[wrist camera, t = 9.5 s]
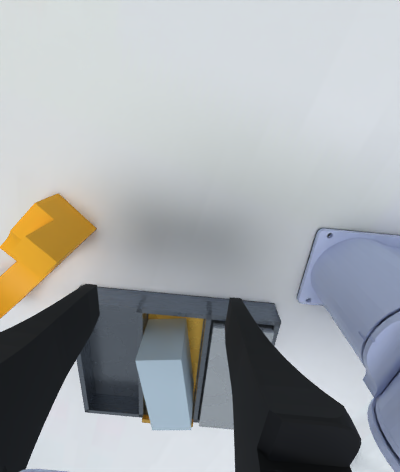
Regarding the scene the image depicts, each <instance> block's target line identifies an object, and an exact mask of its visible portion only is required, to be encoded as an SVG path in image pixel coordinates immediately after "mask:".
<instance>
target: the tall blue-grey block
mask: <svg viewBox="0 0 400 472" xmlns="http://www.w3.org/2000/svg"><path fill="white" fill-rule="evenodd" d="M135 362H136V366H137V370H138V374H139V378H140V382H141V386H142V390H143V394H144V398H145V402H146V406H147V411H148V415H149V419H150V423H151V427H152V430H191V424H192V407H193V389H194V380H193V371H192V363H191V354H190V346H189V337H188V329H187V321H186V318H175V319H148V322H147V325H146V329H145V332H144V335H143V338H142V341H141V344H140V347H139V350H138V354H137V357H136V360H135Z"/></svg>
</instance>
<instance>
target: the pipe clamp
mask: <svg viewBox="0 0 400 472" xmlns="http://www.w3.org/2000/svg"><path fill="white" fill-rule="evenodd" d="M96 229H97V228H95V227H94V226H93V225H92V224H91V223H90V222H89V221H88V220H87V219H86V218H85V217H83V216H82V215H81V214H80V213H79V212H78V211H77V210H76V209H75V208H74V207H73V206H71V205H70V204H69V203H68V202H67V201H66V200H65V199H64V198H63V197H62V196H61V195H59V194H56V195H53V196H51V197H48V198H46V199H43V200H41V201H39V202H36V203H35V204H34V205H33V206H32V207H31V208H30V209H29V210H28V211H27V213H26V214H25V215H24V216H23V217H22V218H21V219H20V220H19V222H18V223H17V224H16V225H15V226H14V227H13V228H12V229H11V231H10V234H9V236H8V238H7V239H6V241H5V242H4V243H3V244H2V245H1V246H0V248H1V249H2V250H3V251H4V252H6V253H7V254H8V255H10V256H11V257H12V258H14V259H15V260H16V261H17V262H16V263H15V264H13V265H12V266H11V267H10V268H9V269H8V270H7V271H6V272H5V273H4V274H3V275H1V276H0V319H1V318H2V317H3V316H4V315H5V314H6V313H7V312H8V311H10V310H11V309H12V308H13V307H14V306H15V305H16V304H17V303H18V302H20V301H21V300H22V299H23V298H24V297H25V296H26V295H27V294H28V293H29V292H30V291H31V290H33V289H34V288H35V287H36V286H37V285H38V284H39V283H40V282H41V281H42V280H43V279H44V278H45V277H46V276H47V275H48V274H49V273H50V272H52V271H53V270H54V269H55V268H56V267H57V266H58V265H59V264H60V263H61V262H62V261H63V260H64V259H65V258H66V257H67V256H68V255H70V254H71V253H72V252H73V251H74V250H75V249H76V248H77V247H78V246H79V245H80V244H81V243H82V242H83V241H84V240H85V239H86V238H87V237H89V236H90V235H91V234H92V233H93V232H94V231H95V230H96Z"/></svg>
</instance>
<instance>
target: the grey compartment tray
mask: <svg viewBox="0 0 400 472" xmlns="http://www.w3.org/2000/svg"><path fill="white" fill-rule="evenodd" d="M80 287H81V286H80ZM80 287H79V288H80ZM97 290H98V300H99V310H100V316H99V318H98V321H97V323H96V325H95V328H94V330H93V332H92V334H91V336H90V337H89V339H88V341H87V342H86V344H85V346H84V347H83V349H82V351H81V352H80V354H79V356H78V357H77V365H78V371H79V377H80V383H81V389H82V396H83V402H84V408H85V412H88V413H99V414H110V415H121V416H132V417H143V418H142V422H144V423H150V419H149V415H148V411H147V406H146V402H145V398H144V394H143V390H142V386H141V382H140V378H139V374H138V370H137V366H136V362H135V360H136V357H137V354H138V350H139V347H140V344H141V341H142V338H143V335H144V332H145V329H146V325H147V322H148V319H175V318H186V321H187V329H188V337H189V346H190V354H191V363H192V371H193V380H194V389H193V407H192V424H191V427H193V422H198V423H199V426H202V427H213V428H224V429H234V421H233V401H232V389H231V381H230V374H229V367H228V360H227V353H226V346H225V322H226V317H227V311H228V305H229V299H220V298H209V297H198V296H188V295H177V294H166V293H156V292H145V291H134V290H124V289H113V288H102V287H97ZM243 302H244V304H245V306H246V307H247V309H248V311H249V312H250V314H251V315H252V317H253V318H254V320H255V321H256V323H257V324H258V326H259V327H260V329H261V330H262V331H263V333H264V334H265V335H266V337H267V338H268V339H269V341H270V342H271V343H272V344H273V345H275V341H276V338H277V334H278V331H279V328H280V324H281V320H280V317H279V315H278V312H277V310H276V307H275V304H273V303H262V302H252V301H243Z"/></svg>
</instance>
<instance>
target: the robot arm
mask: <svg viewBox="0 0 400 472" xmlns="http://www.w3.org/2000/svg"><path fill="white" fill-rule="evenodd" d="M329 233H331V235H330V236H329V237H327V235H328V234H329ZM307 298H309V299H308V300H306V299H307ZM297 299H298V301H299V303H302V304H312V305H323V306H325V308H326V309H327V311H328V312H329V314H330V315H331V317H332V318H333V320H334V321H335V323H336V324H337V326H338V327H339V329H340V330H341V332H342V333H343V335H344V336H345V338H346V339H347V341H348V342H349V344H350V345H351V347H352V348H353V350H354V351H355V353H356V354H357V356H358V357H359V359H360V360H361V362H362V363H363V365H364V366H365V368H366V375H365V377H364V378H363V381H364V382H365V384H366V386H367V387H368V389H369V390H370V392H371V394H372V395H373V397H374V398H373V399H372V401H371V402H370V404H369V407H368V422H369V426H370V430H371V432H372V435H373V437H374V439H375V441H376V443H377V445H378V447H379V449H380V451H381V452H382V454H383V455H384V457H385V459H386V460H387V462H388V463H389V465H390V466H391V467H392V469H393V470H394V471H395V472H400V236H398V235H388V234H377V233H367V232H356V231H346V230H335V229H325V228H323V229H320V230H319V231H318V232H317V235H316V238H315V241H314V244H313V248H312V251H311V254H310V257H309V261H308V264H307V267H306V270H305V274H304V277H303V280H302V283H301V287H300V290H299V293H298V296H297ZM99 316H100V310H99V300H98V290H97V285H91V284H85V285H83V286H81V287H80V288H78V289H77V290H75V291H74V292H72V293H70V294H69V295H67V296H66V297H64V298H63V299H61V300H59V301H58V302H56V303H55V304H53V305H51V306H50V307H48V308H46V309H44V310H43V311H41V312H39V313H38V314H36V315H34V316H32V317H31V318H29V319H27V320H25V321H23V322H21V323H19V324H17V325H15V326H13V327H11V328H9V329H7V330H4V331H2V332H0V472H67V471H56V470H44V469H26V467H27V464H28V461H29V459H30V456H31V454H32V451H33V449H34V447H35V444H36V442H37V439H38V437H39V435H40V432H41V430H42V428H43V425H44V423H45V421H46V418H47V416H48V414H49V412H50V410H51V407H52V405H53V403H54V401H55V399H56V397H57V394H58V392H59V390H60V388H61V386H62V384H63V382H64V380H65V378H66V376H67V374H68V373H69V371H70V369H71V368H72V366H73V364H74V363H75V361H76V359H77V357H78V356H79V354H80V352H81V351H82V349H83V347H84V346H85V344H86V342H87V341H88V339H89V337H90V336H91V334H92V332H93V330H94V328H95V325H96V323H97V321H98V318H99ZM225 346H226V353H227V360H228V367H229V374H230V381H231V389H232V401H233V421H234V446H235V472H352V471H351V468H350V464H351V462H352V461H353V459H354V458H355V456H356V455H357V453H358V451H359V448H360V446H361V438H360V436H359V434H358V432H357V430H356V428H355V425H354V424H353V422H352V420H351V418H350V416H349V414H348V413H347V411H346V409H345V408H344V406H343V405H341V404H340V403H339V402H337V401H336V400H334V399H333V398H332V397H330V396H329V395H327V394H326V393H325V392H323V391H322V390H321V389H319V388H318V387H317V386H316V385H314V384H313V383H312V382H311V381H310V380H308V379H307V378H306V377H305V376H304V375H302V374H301V373H300V372H299V371H298V370H297V369H296V368H295V367H294V366H293V365H292V364H291V363H290V362H288V361H287V360H286V359H285V358H284V356H283V355H282V354H281V353H280V352H279V351H278V350H277V349H276V348H275V347H274V345H273V344H272V343H271V342H270V341H269V339H268V338H267V337H266V335H265V334H264V333H263V331H262V330H261V329H260V327H259V326H258V324H257V323H256V321H255V320H254V318H253V317H252V315H251V314H250V312H249V311H248V309H247V307H246V306H245V304H244V302H243V300H242V299H241V298H230V299H229V305H228V311H227V317H226V322H225ZM25 469H26V470H25Z"/></svg>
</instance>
